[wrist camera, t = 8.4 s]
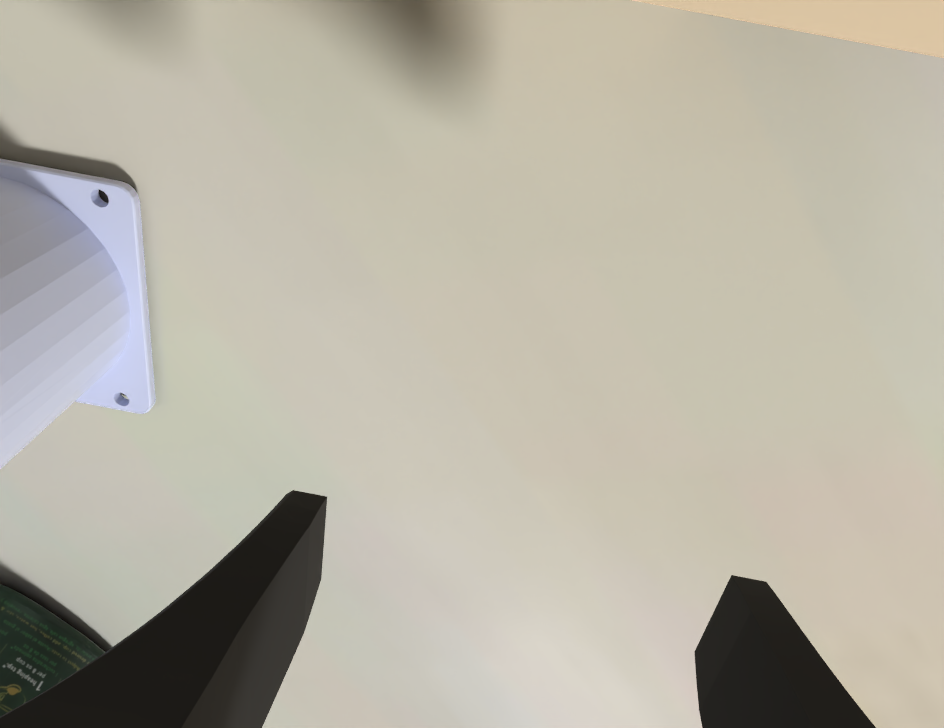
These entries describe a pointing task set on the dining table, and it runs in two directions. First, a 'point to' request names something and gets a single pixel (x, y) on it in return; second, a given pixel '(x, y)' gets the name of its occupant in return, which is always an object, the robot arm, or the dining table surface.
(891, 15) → the tan flat square block
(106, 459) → the dining table surface
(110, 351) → the robot arm
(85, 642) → the coffee jar
